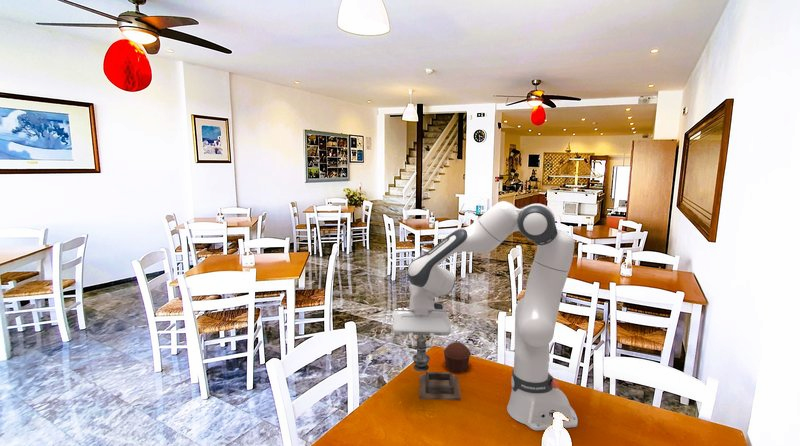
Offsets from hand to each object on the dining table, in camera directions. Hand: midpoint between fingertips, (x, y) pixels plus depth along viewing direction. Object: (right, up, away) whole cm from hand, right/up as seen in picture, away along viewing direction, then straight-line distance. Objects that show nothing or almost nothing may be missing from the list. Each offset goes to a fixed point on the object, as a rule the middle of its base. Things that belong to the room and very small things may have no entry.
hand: (421, 347), depth 132 cm
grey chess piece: (0, -8, +2) cm, 8 cm away
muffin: (+17, -19, +32) cm, 41 cm away
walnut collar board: (+8, -21, +17) cm, 28 cm away
